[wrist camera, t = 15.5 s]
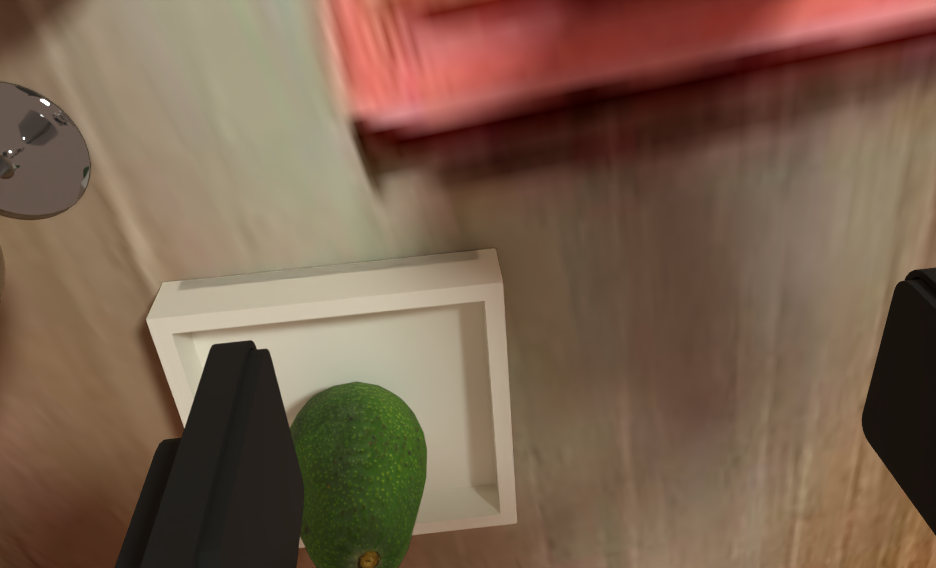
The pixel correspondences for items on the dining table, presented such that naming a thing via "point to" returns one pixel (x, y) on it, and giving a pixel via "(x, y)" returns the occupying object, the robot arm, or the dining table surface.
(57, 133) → the wine glass
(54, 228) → the dining table surface
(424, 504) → the tray
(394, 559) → the avocado
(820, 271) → the dining table surface
